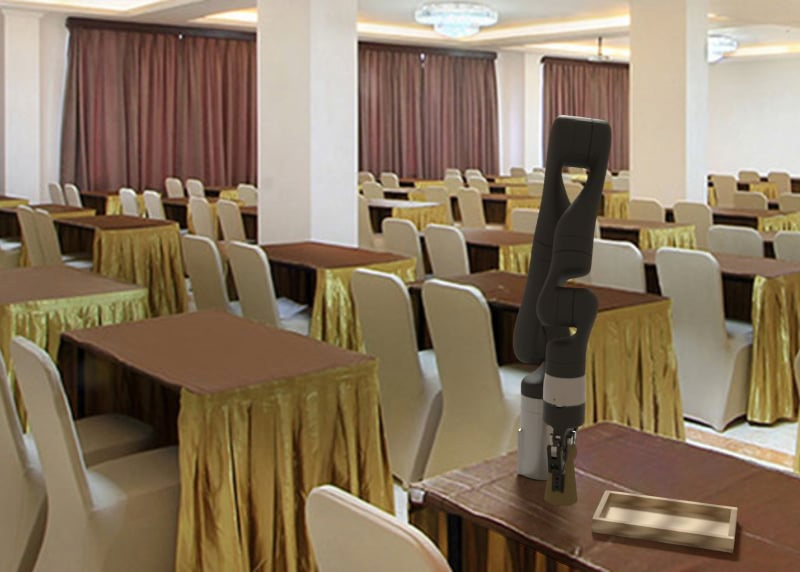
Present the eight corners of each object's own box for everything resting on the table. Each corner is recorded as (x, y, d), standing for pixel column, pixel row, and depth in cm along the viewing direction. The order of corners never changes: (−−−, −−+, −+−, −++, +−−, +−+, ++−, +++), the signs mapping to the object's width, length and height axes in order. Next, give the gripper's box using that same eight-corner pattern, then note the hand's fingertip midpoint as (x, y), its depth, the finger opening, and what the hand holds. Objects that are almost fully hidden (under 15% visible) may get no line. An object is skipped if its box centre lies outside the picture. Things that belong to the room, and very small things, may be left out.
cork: (541, 492, 177) (542, 436, 175) (573, 491, 177) (575, 435, 175) (547, 506, 171) (549, 448, 169) (581, 505, 171) (583, 447, 169)
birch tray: (591, 531, 172) (592, 518, 171) (605, 502, 184) (605, 490, 184) (733, 552, 163) (733, 539, 162) (736, 520, 176) (737, 507, 175)
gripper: (553, 383, 178) (550, 470, 181) (533, 406, 165) (530, 499, 169) (593, 388, 175) (590, 476, 178) (576, 412, 162) (572, 506, 166)
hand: (561, 486), depth 173 cm, fingers closed on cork, 4 cm apart
